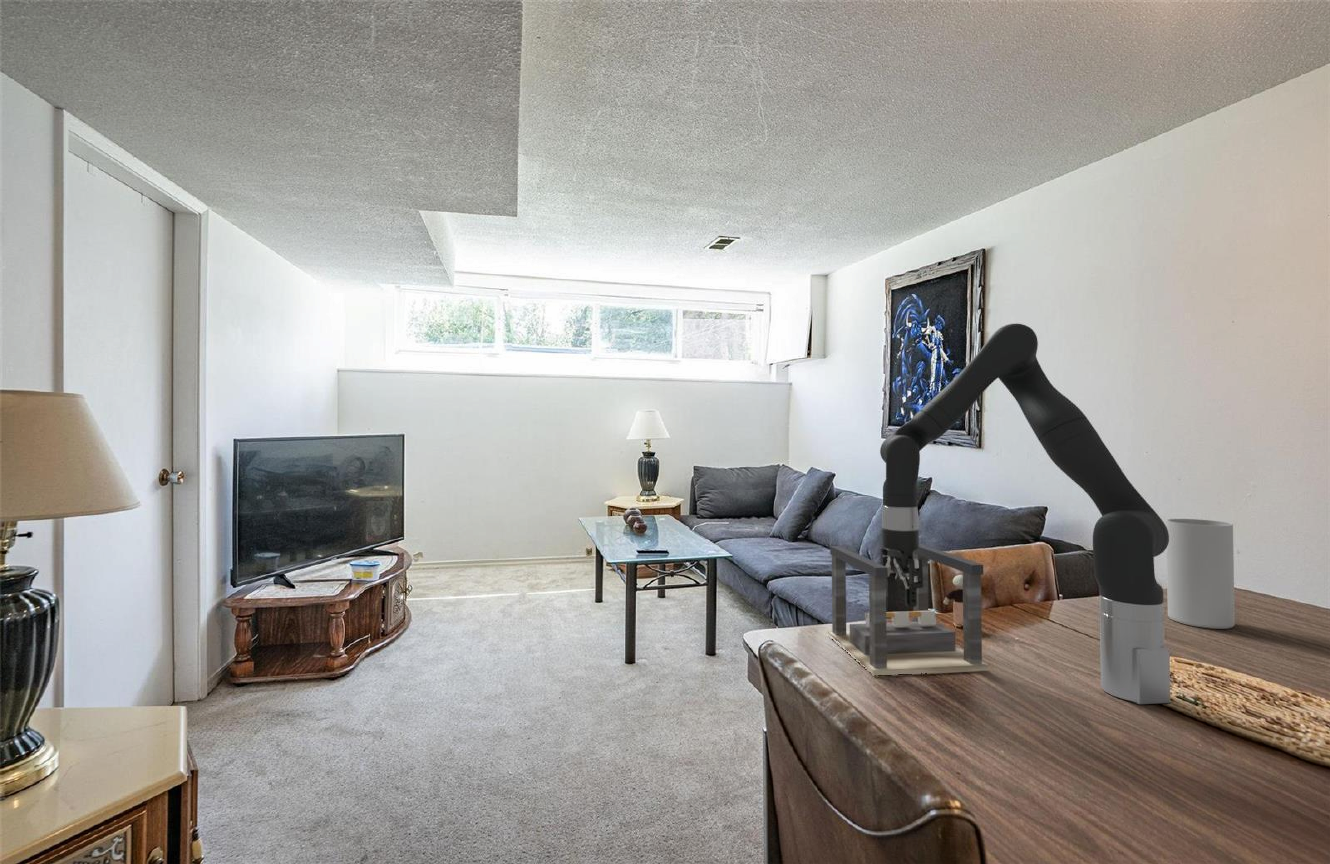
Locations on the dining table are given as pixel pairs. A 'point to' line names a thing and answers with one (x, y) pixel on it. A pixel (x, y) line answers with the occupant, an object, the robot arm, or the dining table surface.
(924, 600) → the stand
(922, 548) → the bar
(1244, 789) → the dining table surface
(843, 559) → the bar
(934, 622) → the breaker paddles
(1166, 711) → the dining table surface
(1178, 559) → the cylinder vase
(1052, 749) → the dining table surface
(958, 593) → the grandmother figurine
